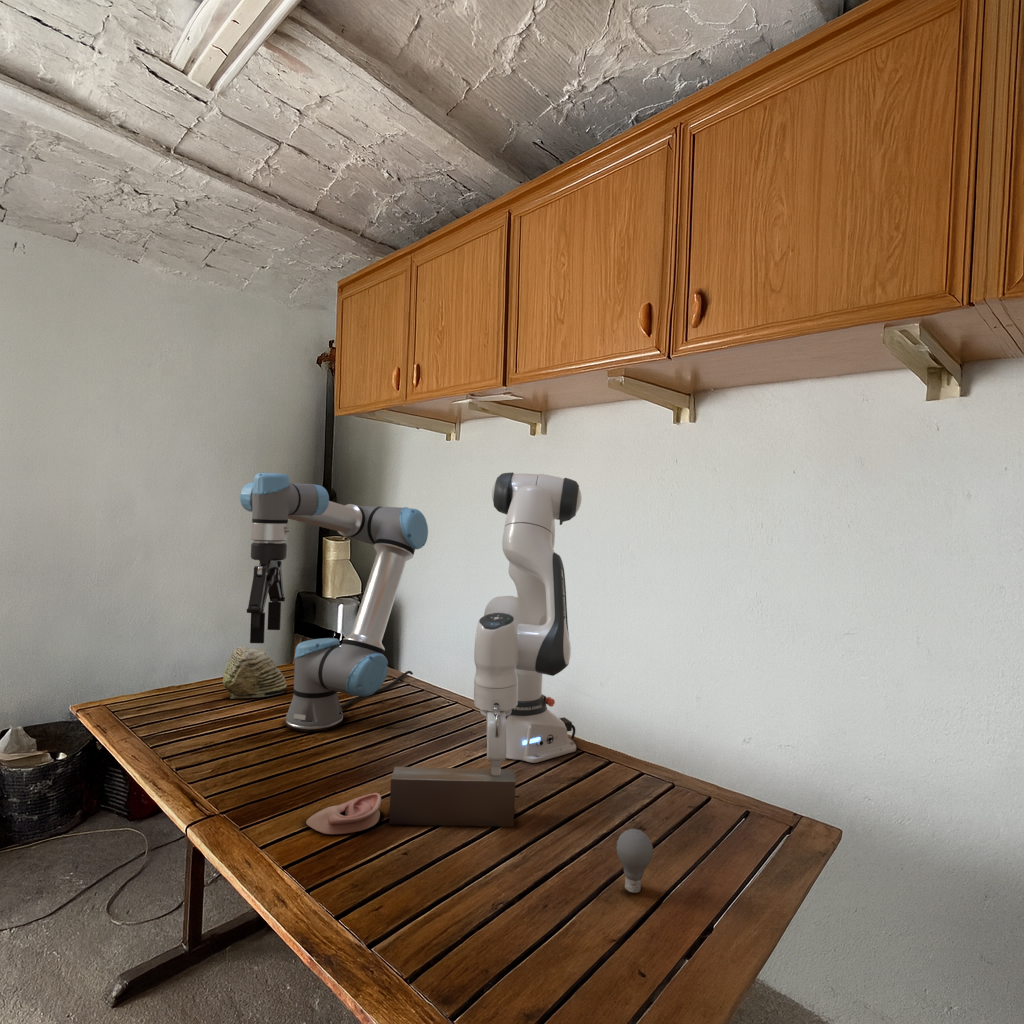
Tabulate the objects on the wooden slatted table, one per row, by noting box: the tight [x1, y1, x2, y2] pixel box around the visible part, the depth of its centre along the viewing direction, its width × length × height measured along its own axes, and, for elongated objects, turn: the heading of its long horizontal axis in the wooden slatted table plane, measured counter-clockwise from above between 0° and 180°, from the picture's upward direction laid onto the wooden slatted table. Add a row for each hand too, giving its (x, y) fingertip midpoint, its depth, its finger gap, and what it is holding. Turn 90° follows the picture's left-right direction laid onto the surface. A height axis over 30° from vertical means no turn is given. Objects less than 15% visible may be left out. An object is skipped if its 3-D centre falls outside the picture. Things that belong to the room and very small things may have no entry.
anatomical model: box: [305, 792, 382, 835], centre depth 124 cm, size 13×4×12 cm
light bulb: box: [615, 828, 654, 894], centre depth 106 cm, size 6×6×10 cm
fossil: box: [222, 646, 288, 699], centre depth 198 cm, size 9×18×15 cm, turn 132°
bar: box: [388, 766, 517, 828], centre depth 127 cm, size 24×6×9 cm, turn 93°
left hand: (265, 636), depth 142 cm, fingers open, 13 cm apart
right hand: (495, 762), depth 128 cm, fingers open, 8 cm apart
